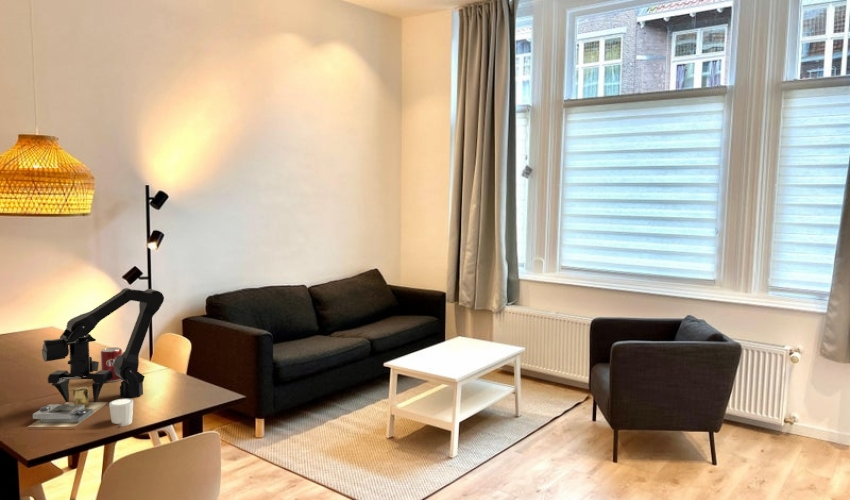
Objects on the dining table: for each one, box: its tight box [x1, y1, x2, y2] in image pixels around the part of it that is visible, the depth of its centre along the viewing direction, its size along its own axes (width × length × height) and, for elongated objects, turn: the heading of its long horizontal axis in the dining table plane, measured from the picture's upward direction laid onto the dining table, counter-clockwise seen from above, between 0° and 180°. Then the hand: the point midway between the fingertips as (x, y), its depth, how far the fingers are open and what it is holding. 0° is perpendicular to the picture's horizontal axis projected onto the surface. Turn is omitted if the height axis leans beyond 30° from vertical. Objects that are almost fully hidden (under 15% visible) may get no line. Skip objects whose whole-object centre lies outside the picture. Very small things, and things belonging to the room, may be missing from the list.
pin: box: [72, 386, 90, 408], centre depth 205 cm, size 4×4×6 cm
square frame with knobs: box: [32, 403, 94, 424], centre depth 194 cm, size 14×9×4 cm, turn 92°
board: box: [27, 401, 109, 431], centre depth 198 cm, size 14×22×1 cm, turn 2°
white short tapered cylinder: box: [108, 398, 134, 427], centre depth 193 cm, size 7×7×7 cm
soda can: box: [100, 346, 123, 383], centre depth 237 cm, size 7×7×12 cm
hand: (81, 401), depth 205 cm, fingers open, 9 cm apart
